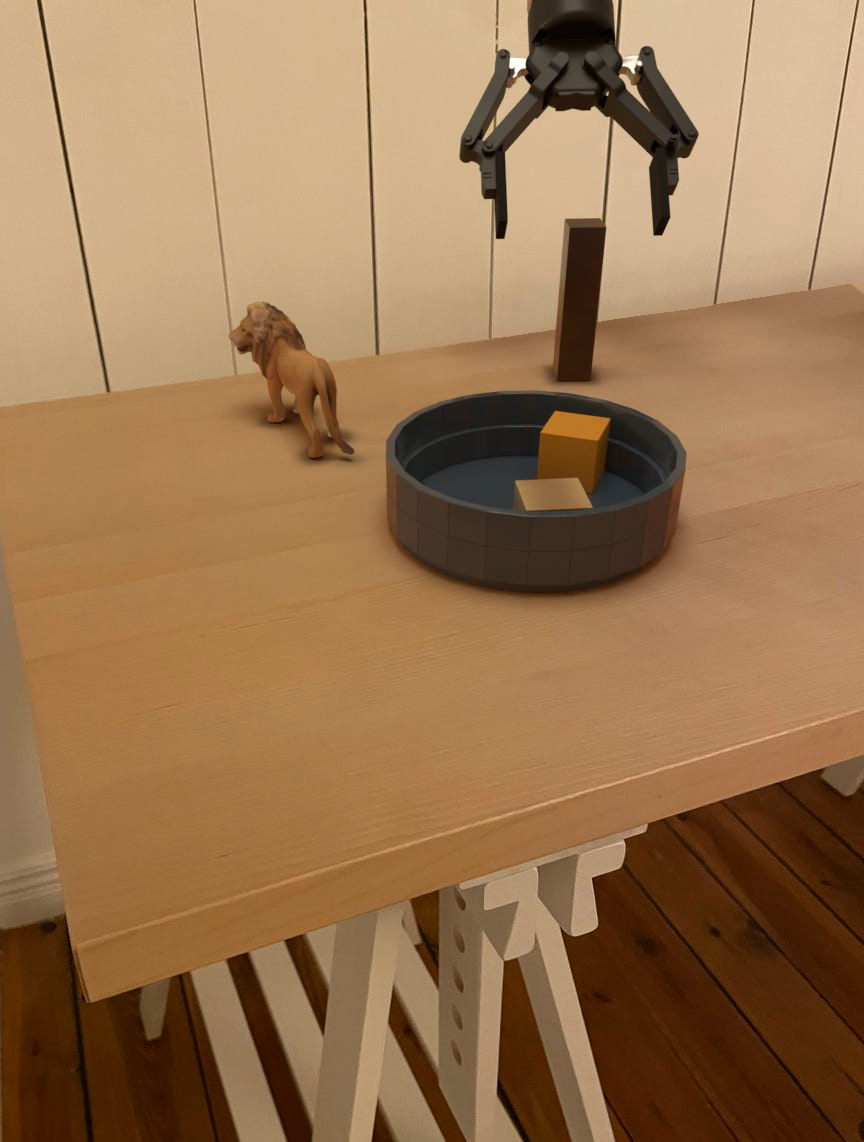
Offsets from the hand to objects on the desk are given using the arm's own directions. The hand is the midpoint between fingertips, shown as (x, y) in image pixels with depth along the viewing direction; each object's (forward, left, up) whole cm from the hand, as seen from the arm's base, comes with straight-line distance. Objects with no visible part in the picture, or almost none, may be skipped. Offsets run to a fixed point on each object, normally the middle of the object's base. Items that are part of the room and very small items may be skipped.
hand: (581, 228), depth 86 cm
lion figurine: (+24, +13, -12) cm, 30 cm away
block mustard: (+4, +25, -11) cm, 27 cm away
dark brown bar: (0, +2, -12) cm, 12 cm away
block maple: (+7, +35, -11) cm, 37 cm away
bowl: (+7, +29, -12) cm, 33 cm away
